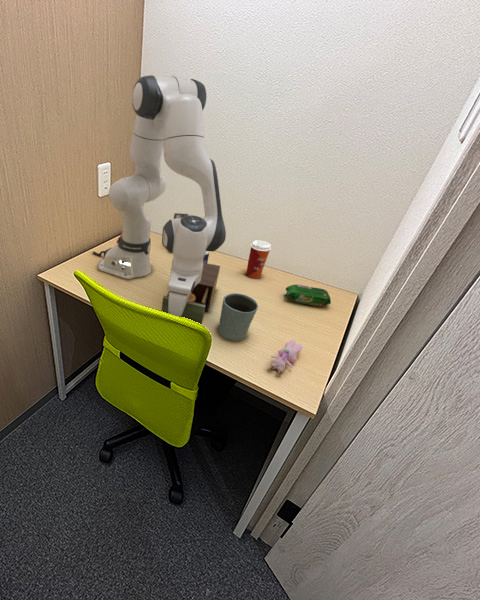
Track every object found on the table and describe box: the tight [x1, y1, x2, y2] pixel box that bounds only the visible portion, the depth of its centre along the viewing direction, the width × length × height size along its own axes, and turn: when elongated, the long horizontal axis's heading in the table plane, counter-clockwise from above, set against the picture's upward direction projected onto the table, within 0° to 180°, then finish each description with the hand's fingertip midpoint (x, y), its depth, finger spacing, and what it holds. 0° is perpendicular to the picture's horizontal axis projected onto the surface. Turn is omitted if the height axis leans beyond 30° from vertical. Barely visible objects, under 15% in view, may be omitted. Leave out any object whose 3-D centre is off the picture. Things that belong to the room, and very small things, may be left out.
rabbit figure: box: [267, 340, 303, 377], centre depth 96 cm, size 6×6×15 cm
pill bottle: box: [203, 251, 210, 264], centre depth 143 cm, size 5×5×10 cm
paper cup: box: [245, 239, 272, 279], centre depth 135 cm, size 8×8×14 cm
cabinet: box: [197, 262, 221, 313], centre depth 123 cm, size 16×15×11 cm
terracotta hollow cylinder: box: [188, 293, 196, 303], centre depth 113 cm, size 6×6×7 cm
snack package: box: [284, 284, 332, 307], centre depth 122 cm, size 7×16×5 cm, turn 70°
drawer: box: [161, 285, 210, 325], centre depth 112 cm, size 19×13×9 cm
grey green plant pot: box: [217, 292, 259, 342], centre depth 105 cm, size 10×10×12 cm
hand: (180, 311), depth 105 cm, fingers closed
